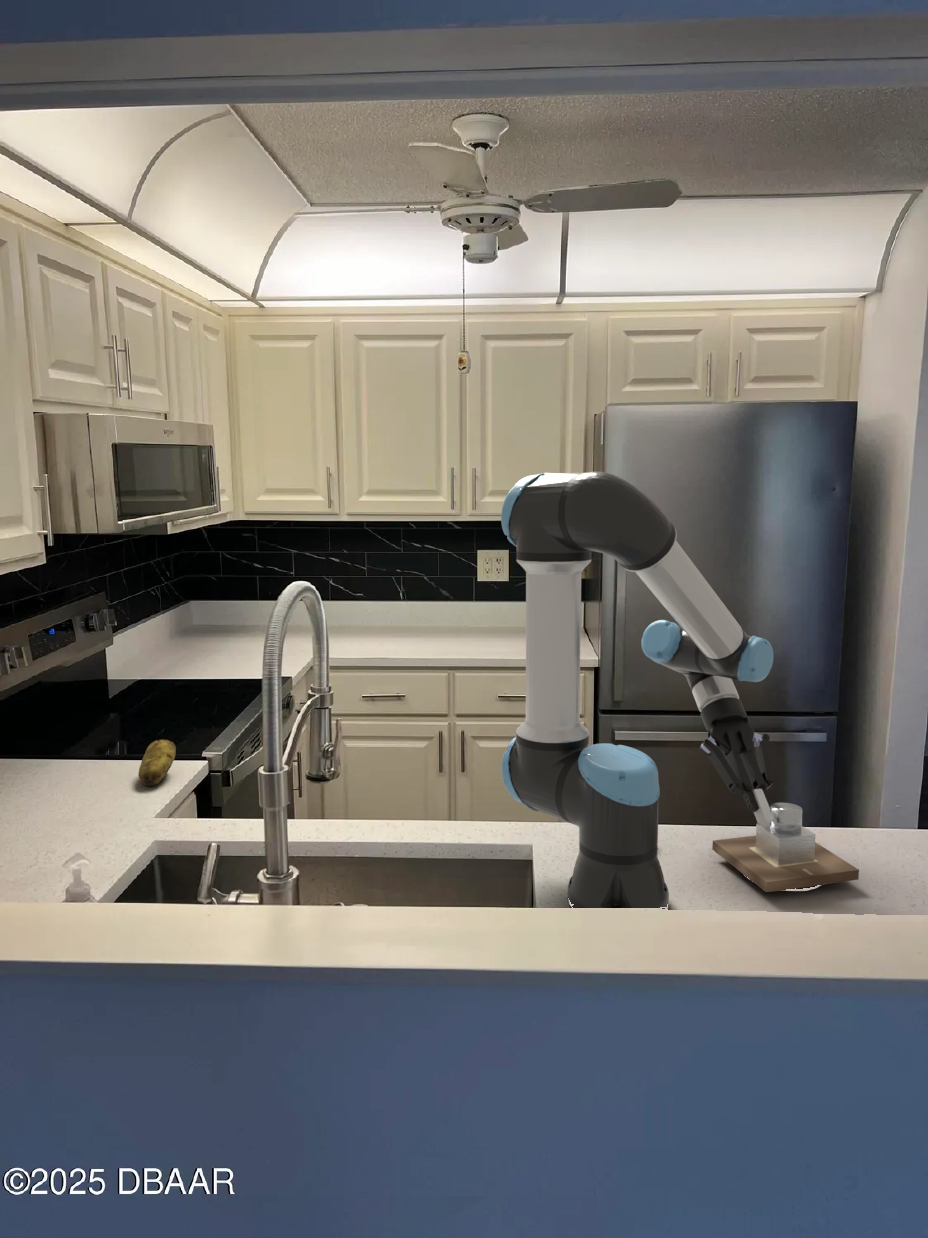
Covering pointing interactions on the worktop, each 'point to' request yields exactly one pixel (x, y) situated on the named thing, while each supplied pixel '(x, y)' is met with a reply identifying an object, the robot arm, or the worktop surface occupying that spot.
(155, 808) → the worktop surface
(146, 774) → the potato
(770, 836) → the metal block with knob
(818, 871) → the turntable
